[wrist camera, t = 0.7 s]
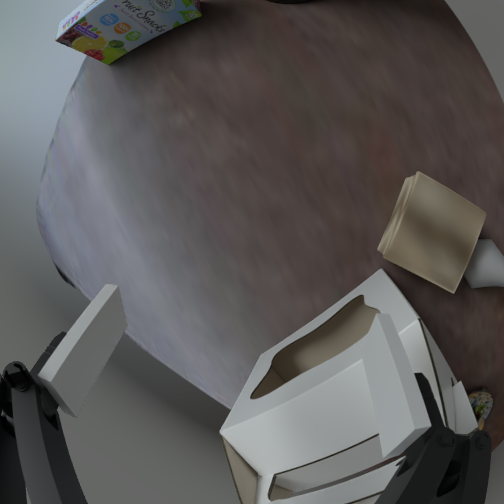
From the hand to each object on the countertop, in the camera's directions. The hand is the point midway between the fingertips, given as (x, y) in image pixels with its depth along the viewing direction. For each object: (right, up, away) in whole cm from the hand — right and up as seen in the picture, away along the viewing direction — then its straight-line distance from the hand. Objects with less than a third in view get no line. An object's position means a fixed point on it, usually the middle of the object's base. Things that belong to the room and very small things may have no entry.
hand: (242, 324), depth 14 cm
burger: (+39, -25, +19) cm, 50 cm away
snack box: (-18, +44, +24) cm, 53 cm away
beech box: (+23, +6, +18) cm, 30 cm away
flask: (+33, +2, +16) cm, 37 cm away
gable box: (+14, -10, +24) cm, 29 cm away
